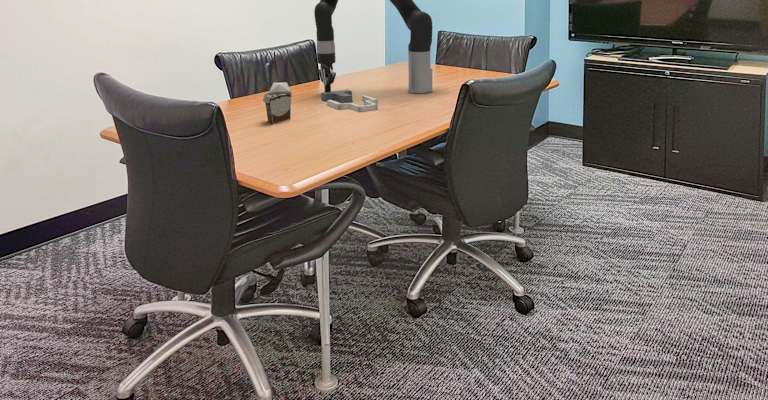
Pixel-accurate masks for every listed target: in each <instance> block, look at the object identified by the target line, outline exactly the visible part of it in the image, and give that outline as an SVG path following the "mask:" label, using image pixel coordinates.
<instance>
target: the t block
mask: <svg viewBox="0 0 768 400" xmlns="http://www.w3.org/2000/svg"><path fill="white" fill-rule="evenodd" d="M320 95H321V98H320V99H321V101H323V102H327V100H333V101H335V102H338V103H340V104H343V103H353V90H350V89H342V90H333V91H332V90H331V92H325V91H324V92H321V93H320Z"/></svg>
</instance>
